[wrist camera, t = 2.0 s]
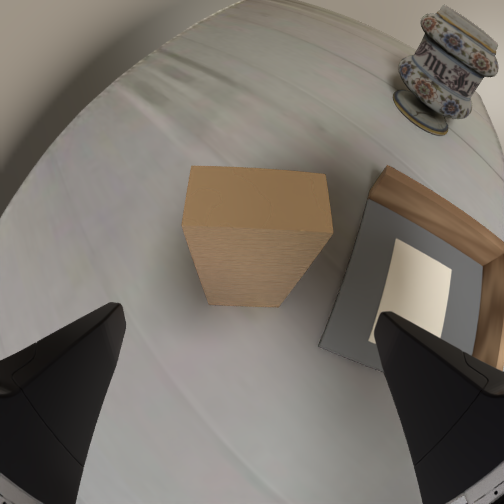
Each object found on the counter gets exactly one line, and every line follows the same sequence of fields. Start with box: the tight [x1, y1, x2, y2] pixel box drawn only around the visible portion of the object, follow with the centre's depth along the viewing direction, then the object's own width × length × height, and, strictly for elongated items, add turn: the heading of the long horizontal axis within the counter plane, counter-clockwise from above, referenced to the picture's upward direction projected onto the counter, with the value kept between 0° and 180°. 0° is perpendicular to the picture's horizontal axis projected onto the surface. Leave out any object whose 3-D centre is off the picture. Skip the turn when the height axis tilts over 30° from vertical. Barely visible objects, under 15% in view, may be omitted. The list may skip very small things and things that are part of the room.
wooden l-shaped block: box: [182, 166, 333, 307], centre depth 16 cm, size 8×5×12 cm, turn 179°
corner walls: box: [368, 165, 504, 371], centre depth 19 cm, size 15×17×4 cm
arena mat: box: [318, 199, 483, 372], centre depth 21 cm, size 14×16×1 cm
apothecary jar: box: [393, 5, 498, 136], centre depth 24 cm, size 12×12×18 cm
